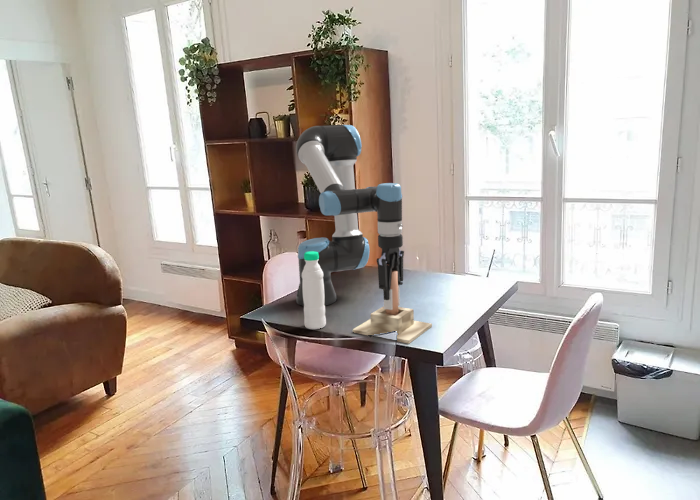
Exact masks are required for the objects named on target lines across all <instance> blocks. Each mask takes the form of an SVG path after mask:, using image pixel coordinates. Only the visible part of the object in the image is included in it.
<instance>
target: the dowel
mask: <svg viewBox="0 0 700 500" xmlns="http://www.w3.org/2000/svg"><path fill="white" fill-rule="evenodd" d="M391 289H392V301H393V309H392V310H389V309H386V314H389V315H394V316H396V315H398V314H399V313H398V307H399V306H398V271H395V270H392V276H391Z"/></svg>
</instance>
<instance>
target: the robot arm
mask: <svg viewBox="0 0 700 500" xmlns="http://www.w3.org/2000/svg"><path fill="white" fill-rule="evenodd" d="M295 151H296V155H297V158H298V160H299V161H300V162H301V163H302V164H303V165H305V167H306V168H307V170H308V172H309V174H310V176H311V177H312V180H313V182H314V183H315V185H316V187H317V189H318V191H319V193H320V194H319V198H318V205H319V208H320V210H319V211H320V212H321V214H322V215H324V216H334V226H335V231H334V233H333V234H332V236H331V238H332V239H331V240H329V238H327V237H314V238H310V239H307V240H304V241H302V242H300V244H299V245H298V247H297V248H298V249H297V258H298V271H299V272H298V274H299V284H298V287H297V293H296V295H295V299H296V301H295V302H296V304H297V305H299V306H302V307H304V301H303V289H302V280H303V279H302V272H303V269H304V266H305V265H306V262H305V259H304V254H305V253H306V252H309V251H315V252H318V254H319V260H318V264H319V265H320V268H321V269H322V271H323V282H324V305H325V306H329V305H331V304H334V303H336V302H337V293H336V291H335V287H334V285H333V282H332V276H331V273H333V272H336V273H337V272H342V271H350V270H352V271H355V270H357V269H361V268H365V266H367V264H368V262H369V259H370V244H369V240H368V239H367V238H366V237H364V236H363V234H364V233H363V232H362V231H360V230H359V224H358V223H359V222H358V220H359V219H358V214H361V213H370V212H371V213H373V212H376V214H377V215H376V216H377V219H376V220H377V233H378V236H377V246H378V248H380V249H381V255H380V258H379V257H378V258H376V263H377V272H378V273H377V274H378V277H377V278H378V289H380V290H383V306H384V309H389V310H392V309H393V301H392V289H391V276H392V270H395V271H398V307H400V306H401V305H400V303H401V298H400V297H401V295H400V286H402V285H403V284H404V282H403V281H404V256H405V250H400V248H402V247H403V244H404V243H403V242H404V241H403V239H404V238H403V235H402V233H403V228H404V227H403V226H404V225H403V194H402V186H401V185H400V183H394V182H386V183H384V182H383V183H380V184H378V185H377V186H367V187H366V188H356V186H355V173H354V165H355V163H356V162H357V161H358V159H357V157H358V156H360V155H361V153H362V139H361V136H360V133H359V131H358V130H357V128H356V127H355V126H354V125H351V124H334V125H332V124H331V125H314V126H310V127H309V128H307V129H305V130H303V132H301V134H300V135H299V137H298V139H297V141H296V145H295Z"/></svg>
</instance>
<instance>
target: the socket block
mask: <svg viewBox="0 0 700 500" xmlns="http://www.w3.org/2000/svg"><path fill="white" fill-rule="evenodd" d="M398 313H399V314H398V315H396V316H394V315H389V314H386V309H384V305H383V306H381V307H379V308H378V309H377V310H374V311H372V313H370V318H369V319H368V320H366V321H364V322H363V323H361V324H360V325H357V326H356V327H354V328H353V329H352V333H353V332H354V334H360V335H363V336H368V335H374V334H380V333H387V332H392V331H397V333H398V335H397V341H396V342H398V343H404V344H411V343H412V342H414V341H415V340H416V339H417V338H419V337H420V336H422V335H424V333H425V332H427V331H428V330H429V329H431V328H432V327H433V324H432V323H430V322H424V321H420V320H419V321H418V320H414V319H415V318H414V314H415V312H414V308H406V307H402V306H398Z"/></svg>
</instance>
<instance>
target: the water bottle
mask: <svg viewBox="0 0 700 500" xmlns="http://www.w3.org/2000/svg"><path fill="white" fill-rule="evenodd" d="M304 259H305V262H306V265H305V266H304V269H303V272H302V279H303V280H302V289H303V301H304V306H303V315H304V317H303V318H304V320H303V321H304V322H303V323H304V326H305V328H306V329H308V330H320V328H321V329H323V328H324V327H326V325H327V318H326V305H324V282H323V271H322V269H321V268H320V265H319V264H318V260H319V254H318V252H315V251H309V252H306V253H305V254H304Z"/></svg>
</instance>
